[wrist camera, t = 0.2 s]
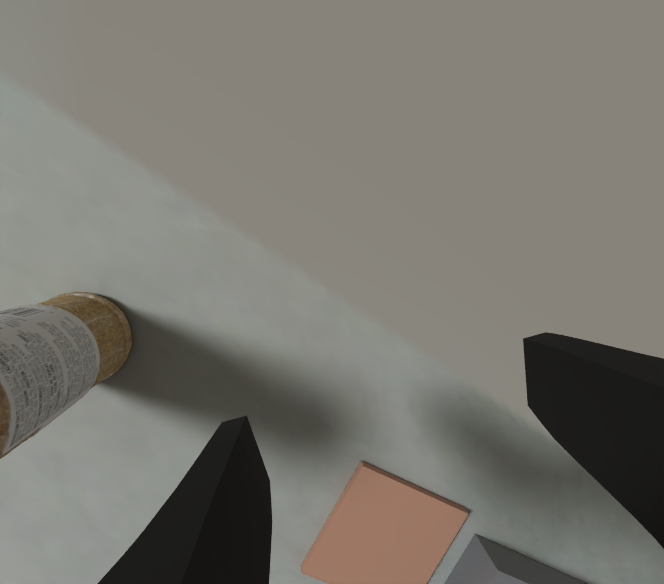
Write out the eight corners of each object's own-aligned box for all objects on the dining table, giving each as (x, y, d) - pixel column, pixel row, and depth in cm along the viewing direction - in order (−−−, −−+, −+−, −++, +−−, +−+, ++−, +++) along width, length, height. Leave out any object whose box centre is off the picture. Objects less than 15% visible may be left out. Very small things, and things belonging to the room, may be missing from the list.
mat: (405, 605, 23) (407, 614, 22) (301, 565, 22) (301, 572, 21) (464, 507, 22) (468, 513, 22) (361, 460, 21) (363, 466, 21)
